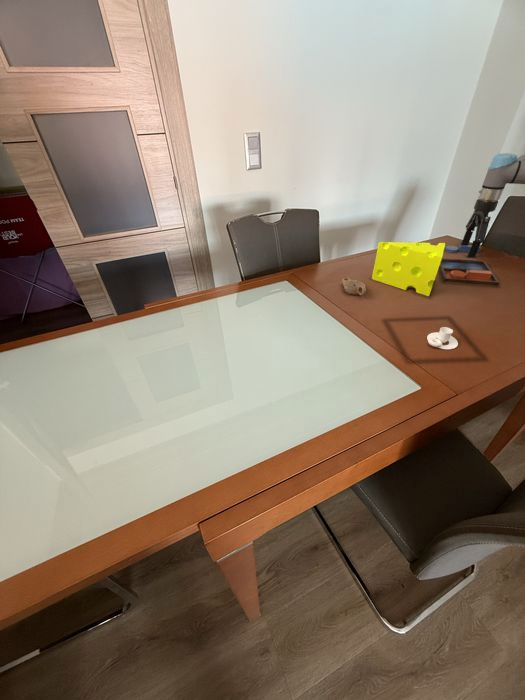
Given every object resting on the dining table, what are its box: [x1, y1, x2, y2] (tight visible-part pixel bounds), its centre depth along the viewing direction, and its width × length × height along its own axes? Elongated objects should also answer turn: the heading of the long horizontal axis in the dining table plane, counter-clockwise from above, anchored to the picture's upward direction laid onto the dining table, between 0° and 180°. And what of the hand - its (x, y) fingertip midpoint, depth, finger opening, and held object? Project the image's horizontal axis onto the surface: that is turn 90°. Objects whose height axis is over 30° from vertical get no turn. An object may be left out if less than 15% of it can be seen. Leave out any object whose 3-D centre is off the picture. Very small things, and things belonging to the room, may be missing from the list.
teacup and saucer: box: [426, 326, 459, 350], centre depth 86 cm, size 9×8×4 cm
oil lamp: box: [341, 277, 367, 296], centre depth 110 cm, size 13×8×5 cm, turn 14°
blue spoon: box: [444, 244, 482, 254], centre depth 135 cm, size 13×5×3 cm, turn 74°
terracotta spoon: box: [449, 270, 492, 280], centre depth 114 cm, size 13×5×3 cm, turn 74°
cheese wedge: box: [371, 241, 446, 297], centre depth 109 cm, size 19×20×15 cm
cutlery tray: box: [438, 257, 500, 287], centre depth 118 cm, size 18×19×2 cm
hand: (467, 251), depth 135 cm, fingers open, 13 cm apart
